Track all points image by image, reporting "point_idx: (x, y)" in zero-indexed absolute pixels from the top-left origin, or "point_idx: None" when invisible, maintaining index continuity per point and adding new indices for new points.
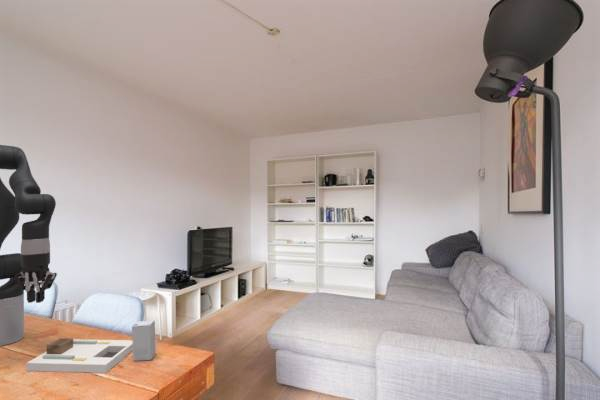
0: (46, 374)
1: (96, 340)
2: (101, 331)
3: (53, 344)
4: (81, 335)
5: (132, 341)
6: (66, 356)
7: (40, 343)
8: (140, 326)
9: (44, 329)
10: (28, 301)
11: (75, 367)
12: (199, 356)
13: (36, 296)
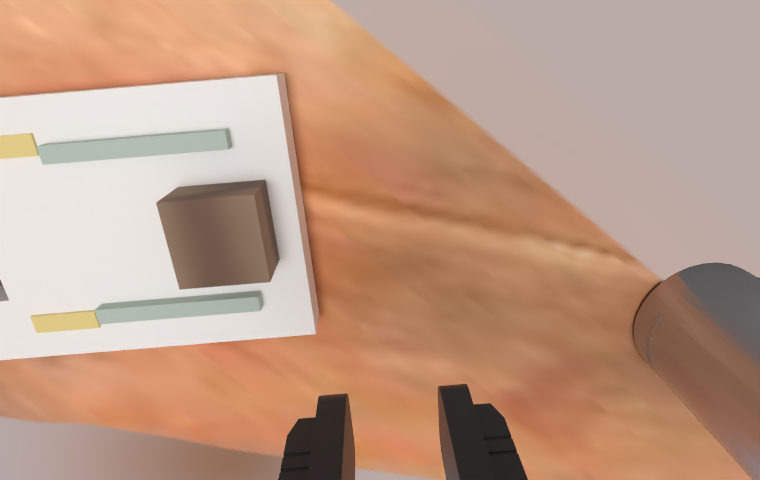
0: (136, 56)
1: (143, 341)
2: None
3: (217, 207)
4: (358, 407)
5: None
6: (80, 149)
7: (493, 318)
8: None
9: (610, 433)
10: (456, 390)
11: None
12: None
13: (334, 459)
